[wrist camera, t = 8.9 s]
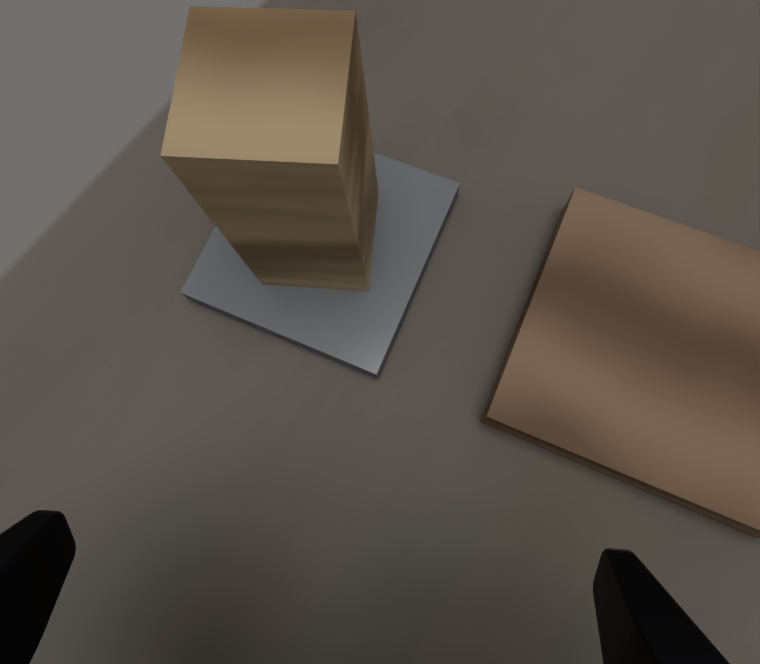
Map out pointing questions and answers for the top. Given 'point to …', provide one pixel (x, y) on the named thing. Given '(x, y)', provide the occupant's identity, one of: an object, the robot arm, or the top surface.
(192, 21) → the oak block
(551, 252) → the walnut ledge
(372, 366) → the slate tile
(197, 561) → the top surface
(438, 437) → the top surface
